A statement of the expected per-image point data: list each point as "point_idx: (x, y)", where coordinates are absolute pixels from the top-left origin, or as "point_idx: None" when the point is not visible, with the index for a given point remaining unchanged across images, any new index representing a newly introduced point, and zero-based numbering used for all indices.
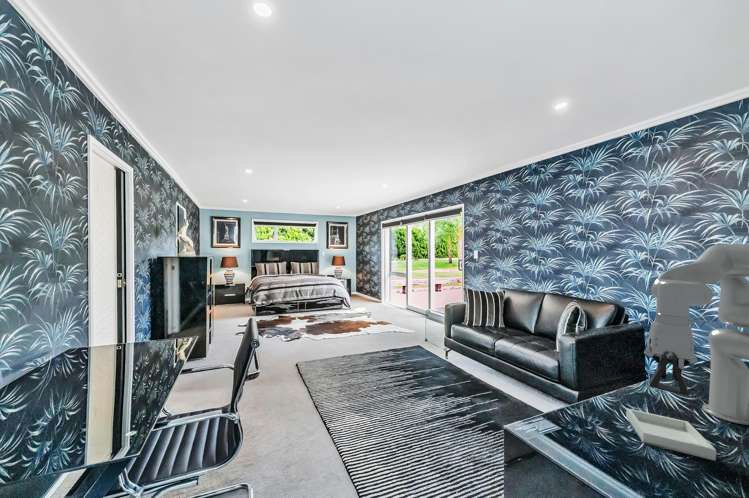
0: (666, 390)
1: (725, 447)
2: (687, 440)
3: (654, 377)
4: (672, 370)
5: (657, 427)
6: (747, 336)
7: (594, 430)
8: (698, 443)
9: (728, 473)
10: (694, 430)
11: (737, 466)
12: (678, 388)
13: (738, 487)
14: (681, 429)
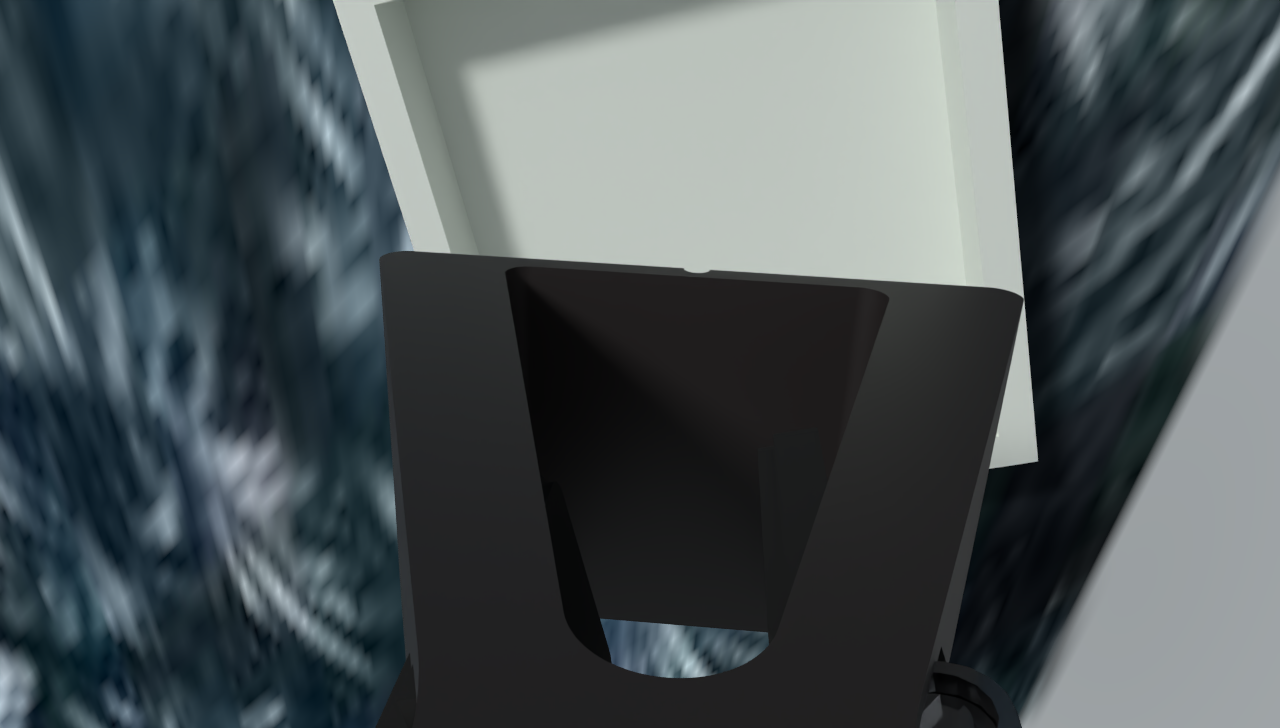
0: (643, 612)
1: (1227, 12)
2: (877, 201)
3: None
4: (765, 554)
5: (646, 80)
6: None
7: (209, 543)
8: (959, 216)
9: (1030, 557)
10: (979, 90)
11: (1153, 391)
12: (858, 380)
13: (1021, 700)
14: None
